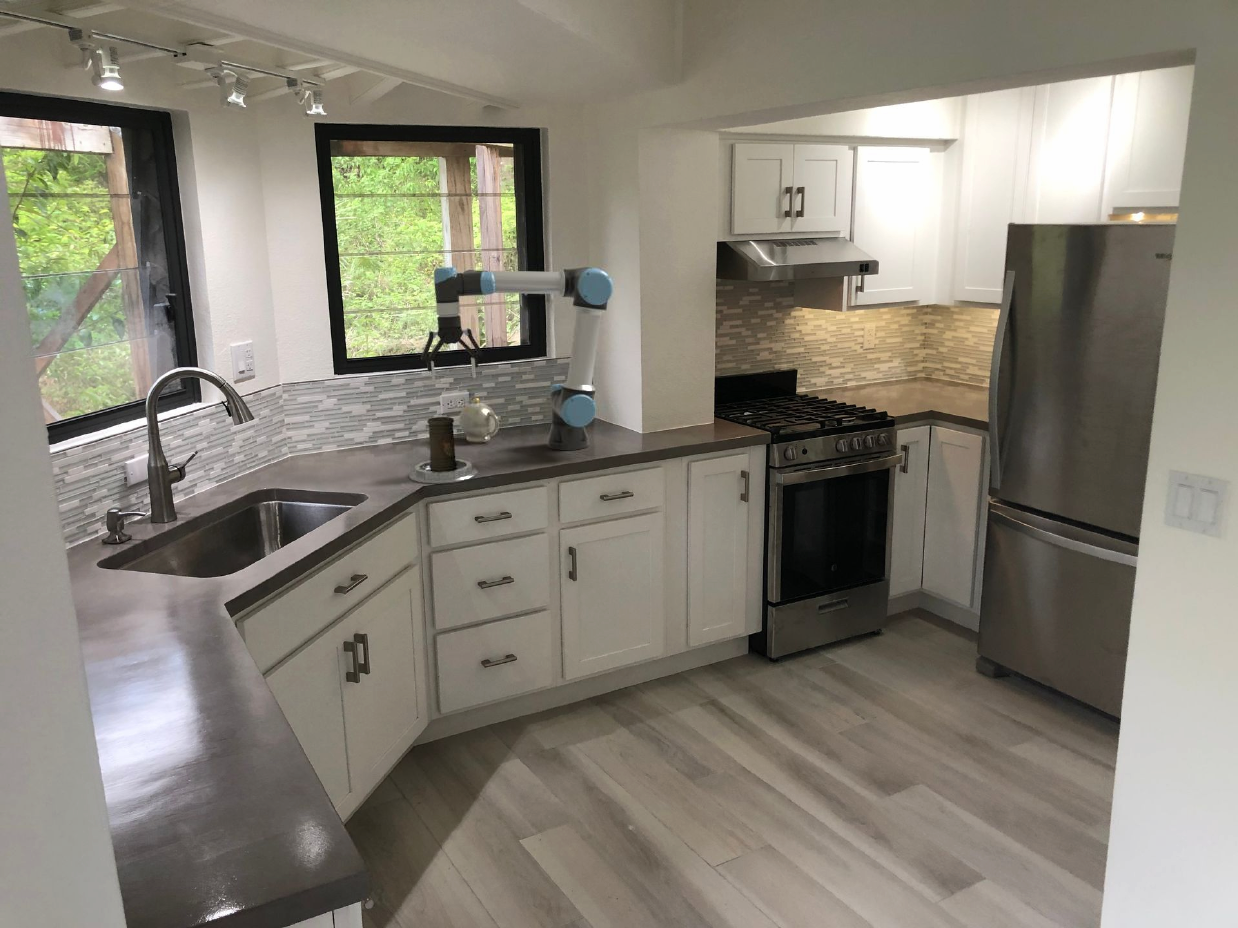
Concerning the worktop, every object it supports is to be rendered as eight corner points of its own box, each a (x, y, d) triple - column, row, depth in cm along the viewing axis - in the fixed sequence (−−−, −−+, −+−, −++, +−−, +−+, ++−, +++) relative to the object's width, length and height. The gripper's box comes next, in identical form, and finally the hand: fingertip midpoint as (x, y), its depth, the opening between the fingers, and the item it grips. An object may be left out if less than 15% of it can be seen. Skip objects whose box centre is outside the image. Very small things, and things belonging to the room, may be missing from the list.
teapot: (451, 441, 364) (448, 398, 360) (476, 435, 375) (474, 393, 371) (486, 447, 354) (484, 403, 350) (511, 440, 364) (509, 397, 360)
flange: (472, 464, 330) (472, 455, 329) (482, 480, 309) (481, 471, 308) (407, 469, 324) (406, 460, 323) (412, 486, 303) (411, 476, 303)
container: (425, 476, 313) (422, 421, 308) (435, 469, 321) (432, 416, 317) (451, 477, 311) (448, 422, 307) (461, 470, 320) (458, 416, 315)
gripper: (484, 311, 326) (488, 374, 331) (409, 317, 318) (414, 380, 323) (488, 313, 319) (493, 377, 324) (411, 319, 311) (417, 384, 317)
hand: (453, 379), depth 324 cm, fingers open, 13 cm apart
